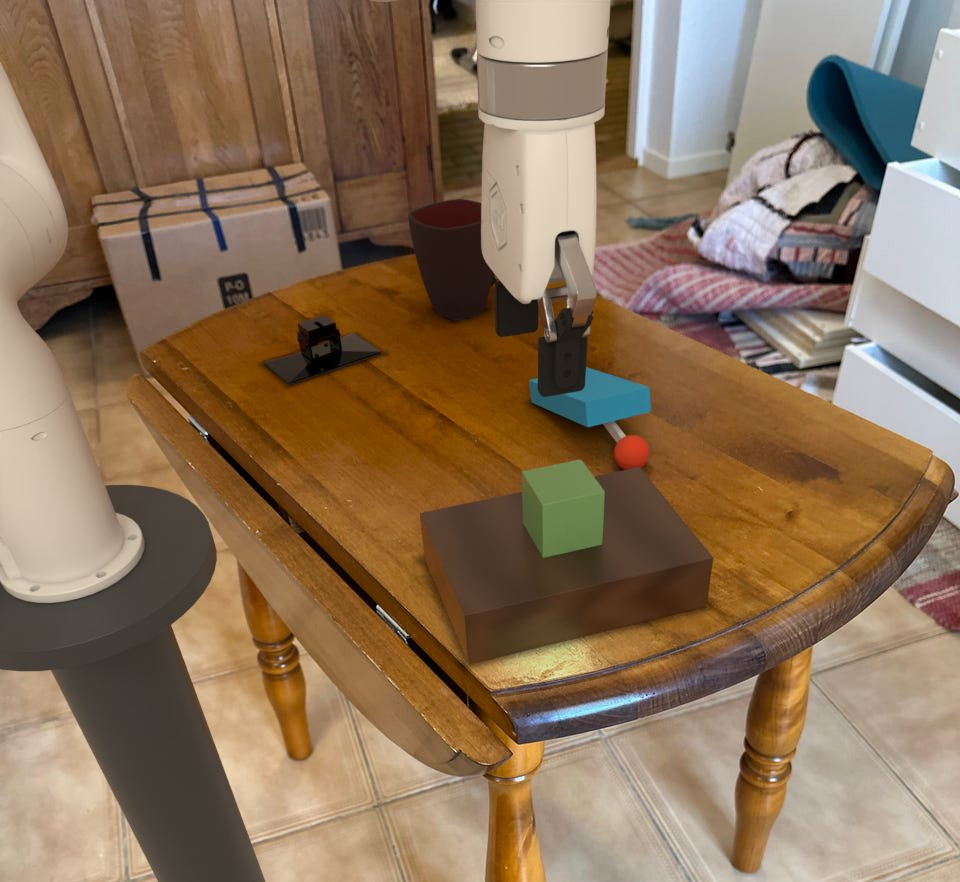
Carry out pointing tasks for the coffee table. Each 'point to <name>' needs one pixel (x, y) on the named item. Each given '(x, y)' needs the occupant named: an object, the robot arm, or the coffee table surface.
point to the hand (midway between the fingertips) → (537, 361)
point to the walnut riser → (562, 570)
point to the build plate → (320, 351)
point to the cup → (452, 257)
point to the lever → (604, 411)
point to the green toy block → (562, 508)
